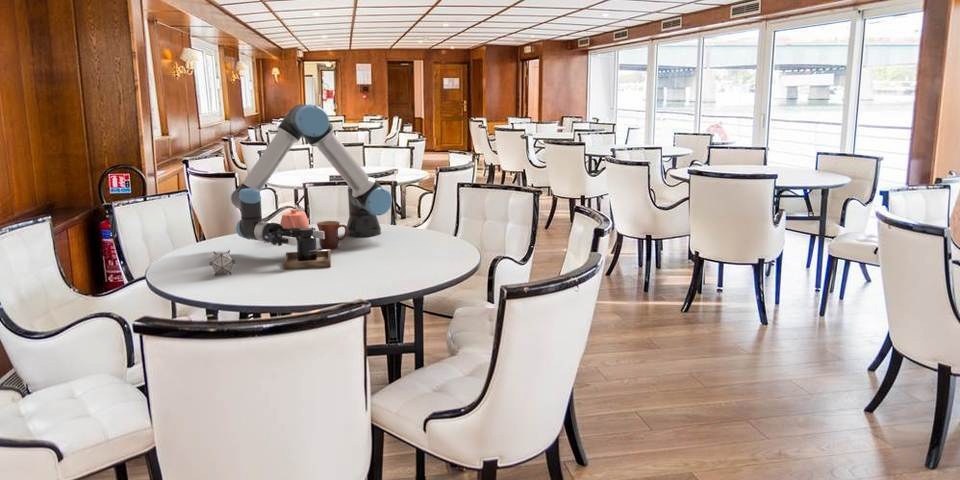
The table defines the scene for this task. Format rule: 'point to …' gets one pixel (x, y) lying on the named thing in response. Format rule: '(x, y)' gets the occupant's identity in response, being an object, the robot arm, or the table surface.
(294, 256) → the tray
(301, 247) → the supplement bottle
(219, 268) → the game die
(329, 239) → the mug
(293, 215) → the teapot
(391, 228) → the table surface
